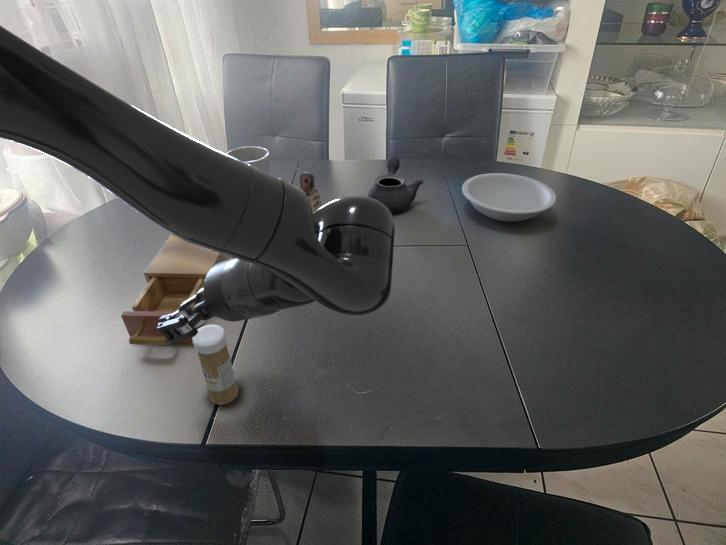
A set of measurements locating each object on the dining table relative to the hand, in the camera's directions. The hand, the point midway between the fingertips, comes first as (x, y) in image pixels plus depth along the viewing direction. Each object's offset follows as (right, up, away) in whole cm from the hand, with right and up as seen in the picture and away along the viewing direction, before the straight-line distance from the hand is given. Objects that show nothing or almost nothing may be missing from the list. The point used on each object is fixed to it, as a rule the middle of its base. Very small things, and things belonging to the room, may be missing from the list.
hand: (187, 304), depth 62 cm
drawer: (-12, -5, +22) cm, 26 cm away
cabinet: (-11, +2, +34) cm, 36 cm away
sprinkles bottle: (+2, -15, +10) cm, 19 cm away
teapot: (+33, +25, +66) cm, 78 cm away
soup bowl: (+63, +20, +60) cm, 89 cm away
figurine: (+10, +20, +59) cm, 64 cm away
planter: (-9, +29, +72) cm, 78 cm away
